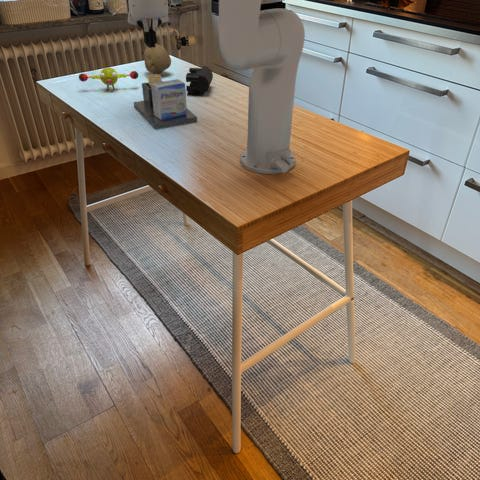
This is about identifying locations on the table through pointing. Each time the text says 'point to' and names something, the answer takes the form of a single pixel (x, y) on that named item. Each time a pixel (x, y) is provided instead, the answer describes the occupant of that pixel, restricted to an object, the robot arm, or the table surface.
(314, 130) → the table surface
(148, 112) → the grey stand
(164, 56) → the natural sponge
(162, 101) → the medicine box
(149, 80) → the pin
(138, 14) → the robot arm
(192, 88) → the end cap
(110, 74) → the toy figure
